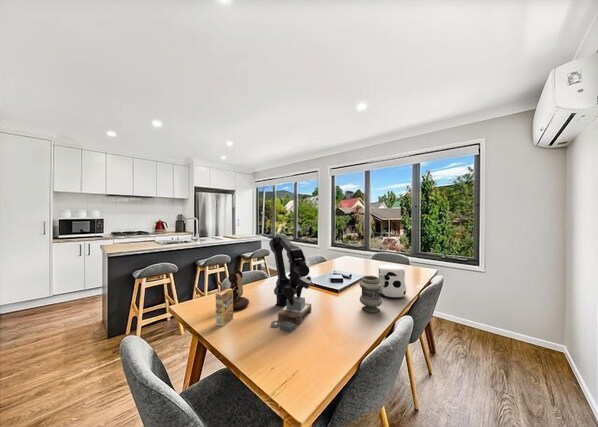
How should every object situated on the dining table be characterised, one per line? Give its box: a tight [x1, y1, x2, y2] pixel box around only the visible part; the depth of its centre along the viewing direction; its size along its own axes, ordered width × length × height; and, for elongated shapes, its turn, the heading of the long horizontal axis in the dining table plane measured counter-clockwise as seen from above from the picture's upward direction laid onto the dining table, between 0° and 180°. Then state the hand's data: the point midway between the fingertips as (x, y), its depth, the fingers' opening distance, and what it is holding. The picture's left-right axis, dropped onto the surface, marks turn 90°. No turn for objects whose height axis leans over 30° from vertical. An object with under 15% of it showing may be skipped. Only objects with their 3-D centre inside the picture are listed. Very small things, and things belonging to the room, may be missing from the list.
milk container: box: [378, 264, 407, 299], centre depth 150 cm, size 17×17×18 cm
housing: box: [286, 295, 306, 311], centre depth 122 cm, size 6×8×6 cm
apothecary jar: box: [359, 275, 384, 315], centre depth 128 cm, size 12×12×18 cm
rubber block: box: [279, 320, 296, 333], centre depth 109 cm, size 6×4×2 cm, turn 57°
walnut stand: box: [277, 302, 312, 326], centre depth 122 cm, size 12×16×4 cm
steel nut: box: [270, 320, 280, 328], centre depth 112 cm, size 4×4×2 cm
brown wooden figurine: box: [228, 269, 250, 311], centre depth 135 cm, size 15×15×20 cm
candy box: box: [215, 288, 234, 327], centre depth 116 cm, size 9×4×15 cm, turn 162°
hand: (295, 301), depth 122 cm, fingers open, 9 cm apart
